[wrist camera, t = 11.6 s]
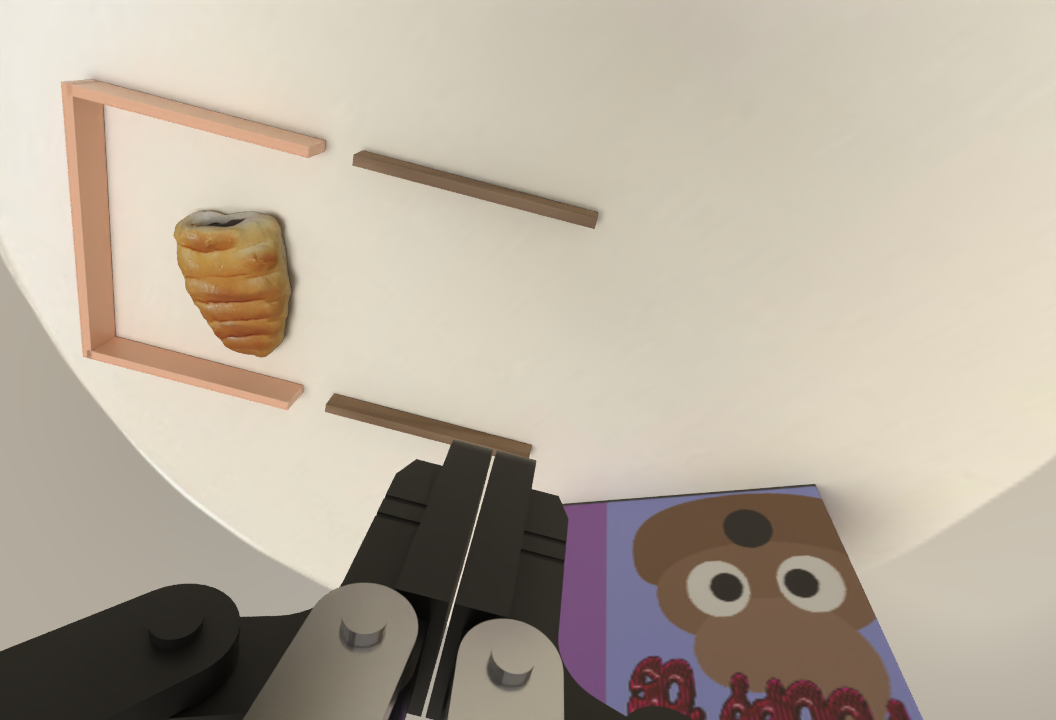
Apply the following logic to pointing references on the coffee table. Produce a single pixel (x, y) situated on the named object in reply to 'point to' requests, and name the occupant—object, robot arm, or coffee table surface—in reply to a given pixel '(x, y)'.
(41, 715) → the robot arm
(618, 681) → the cereal box
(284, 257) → the pastry
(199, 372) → the terracotta pen
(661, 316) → the coffee table surface
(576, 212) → the walnut chute
